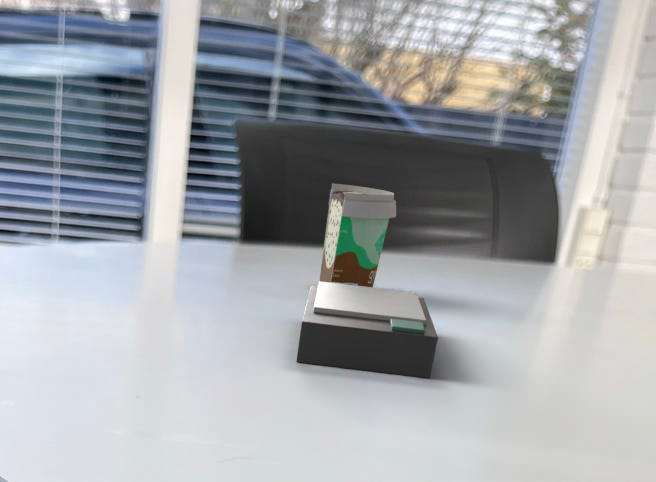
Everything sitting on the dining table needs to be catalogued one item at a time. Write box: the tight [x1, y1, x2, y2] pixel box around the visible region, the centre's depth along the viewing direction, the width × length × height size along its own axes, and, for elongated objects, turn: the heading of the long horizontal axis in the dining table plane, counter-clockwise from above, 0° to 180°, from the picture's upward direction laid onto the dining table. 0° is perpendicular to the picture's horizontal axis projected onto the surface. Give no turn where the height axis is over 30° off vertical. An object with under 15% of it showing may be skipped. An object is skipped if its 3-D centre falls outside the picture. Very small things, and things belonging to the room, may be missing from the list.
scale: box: [296, 281, 439, 379], centre depth 86 cm, size 10×18×3 cm, turn 171°
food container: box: [318, 183, 397, 288], centre depth 109 cm, size 12×6×10 cm, turn 179°
